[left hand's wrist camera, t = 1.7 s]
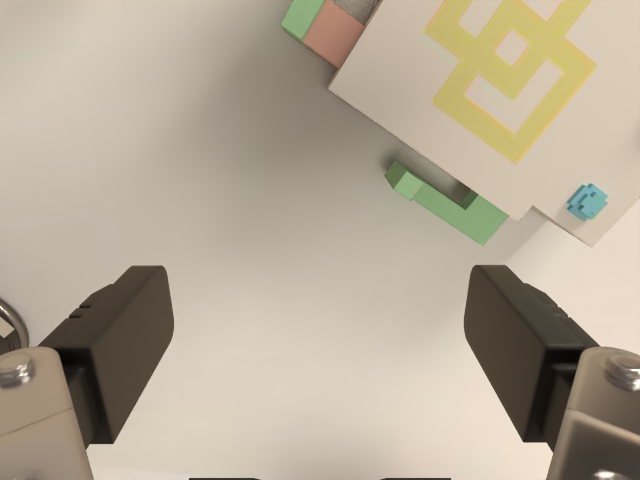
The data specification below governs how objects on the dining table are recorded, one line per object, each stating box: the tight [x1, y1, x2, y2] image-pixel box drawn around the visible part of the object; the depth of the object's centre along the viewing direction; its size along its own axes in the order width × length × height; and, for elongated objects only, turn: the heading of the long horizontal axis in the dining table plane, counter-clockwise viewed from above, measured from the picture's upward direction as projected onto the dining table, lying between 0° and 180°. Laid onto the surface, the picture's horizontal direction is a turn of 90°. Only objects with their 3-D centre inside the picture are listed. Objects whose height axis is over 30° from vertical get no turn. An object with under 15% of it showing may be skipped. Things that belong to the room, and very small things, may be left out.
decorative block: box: [280, 0, 640, 247], centre depth 27 cm, size 26×6×20 cm
